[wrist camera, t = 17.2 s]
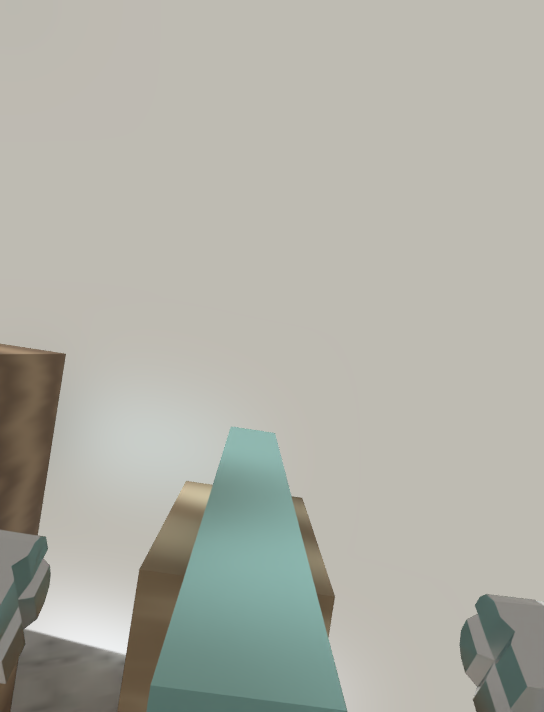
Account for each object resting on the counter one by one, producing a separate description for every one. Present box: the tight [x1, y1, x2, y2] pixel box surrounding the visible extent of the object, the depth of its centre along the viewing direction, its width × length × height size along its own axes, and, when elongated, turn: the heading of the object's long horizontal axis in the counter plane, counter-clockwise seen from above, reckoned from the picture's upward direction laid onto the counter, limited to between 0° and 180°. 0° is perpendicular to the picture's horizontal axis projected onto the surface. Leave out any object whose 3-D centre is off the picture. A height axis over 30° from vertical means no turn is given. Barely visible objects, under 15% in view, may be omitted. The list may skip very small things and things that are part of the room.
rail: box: [146, 427, 347, 712], centre depth 20 cm, size 26×3×3 cm, turn 2°
